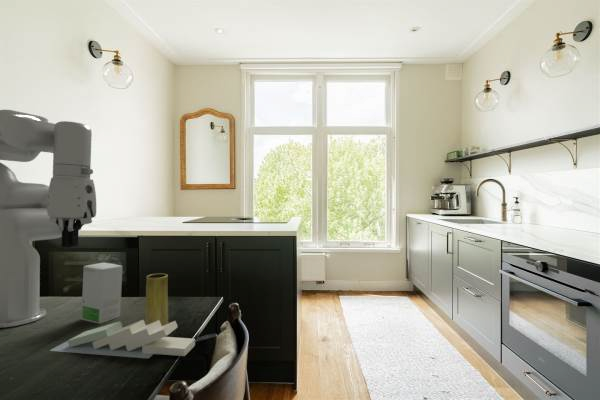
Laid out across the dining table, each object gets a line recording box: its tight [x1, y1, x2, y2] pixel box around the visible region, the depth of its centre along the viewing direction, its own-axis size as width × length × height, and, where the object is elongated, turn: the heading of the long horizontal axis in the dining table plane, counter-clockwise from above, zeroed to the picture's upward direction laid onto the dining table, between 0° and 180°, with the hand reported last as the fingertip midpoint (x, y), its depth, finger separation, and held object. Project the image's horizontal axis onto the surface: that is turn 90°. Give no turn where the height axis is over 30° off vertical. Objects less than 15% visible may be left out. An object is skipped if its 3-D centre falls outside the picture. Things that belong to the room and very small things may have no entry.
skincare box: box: [80, 262, 123, 325], centre depth 90 cm, size 8×7×16 cm
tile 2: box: [93, 318, 146, 349], centre depth 73 cm, size 2×5×10 cm
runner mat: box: [49, 339, 154, 359], centre depth 73 cm, size 24×9×1 cm, turn 83°
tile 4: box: [126, 320, 179, 351], centre depth 72 cm, size 2×5×10 cm
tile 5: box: [142, 336, 196, 357], centre depth 71 cm, size 2×5×10 cm
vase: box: [144, 272, 169, 326], centre depth 83 cm, size 6×6×14 cm
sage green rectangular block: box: [67, 321, 124, 347], centre depth 73 cm, size 2×5×10 cm
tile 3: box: [109, 320, 162, 351], centre depth 72 cm, size 2×5×10 cm
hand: (69, 246), depth 77 cm, fingers closed
